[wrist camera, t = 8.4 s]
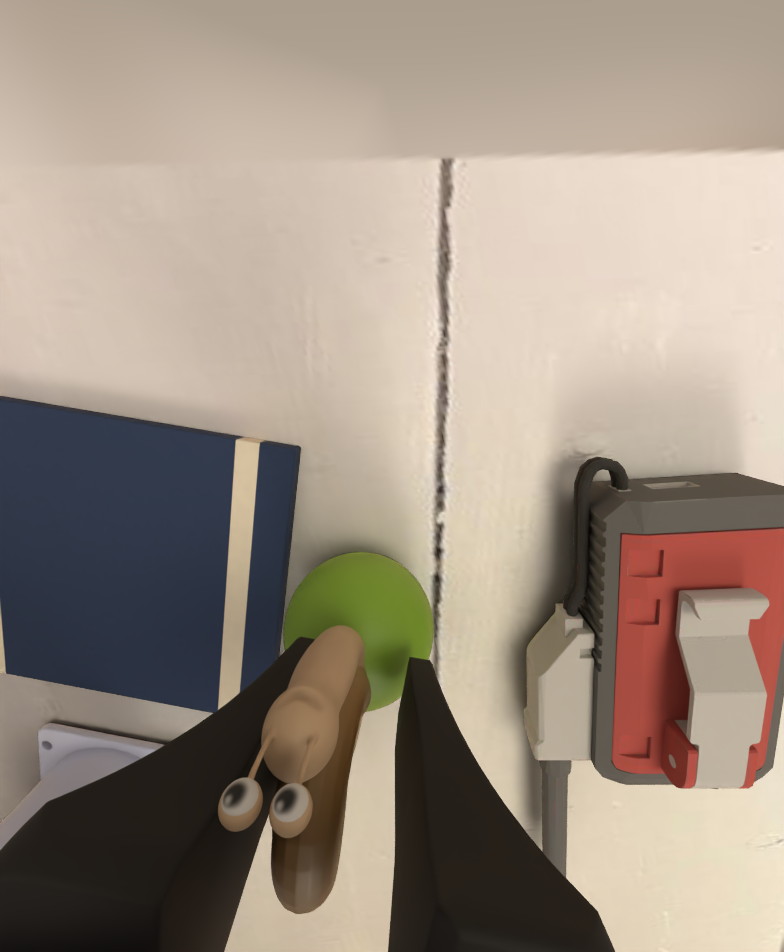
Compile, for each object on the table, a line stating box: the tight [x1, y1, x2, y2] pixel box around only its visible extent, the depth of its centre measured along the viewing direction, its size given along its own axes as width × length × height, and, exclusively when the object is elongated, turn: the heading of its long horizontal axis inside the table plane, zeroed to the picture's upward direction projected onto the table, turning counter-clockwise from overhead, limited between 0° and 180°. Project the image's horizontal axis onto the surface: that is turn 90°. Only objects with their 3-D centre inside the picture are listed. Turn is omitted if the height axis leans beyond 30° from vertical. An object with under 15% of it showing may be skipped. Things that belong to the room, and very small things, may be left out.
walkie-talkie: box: [524, 457, 784, 878], centre depth 15 cm, size 9×4×20 cm
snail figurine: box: [218, 552, 434, 914], centre depth 11 cm, size 5×6×12 cm
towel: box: [0, 396, 301, 713], centre depth 17 cm, size 13×15×1 cm
